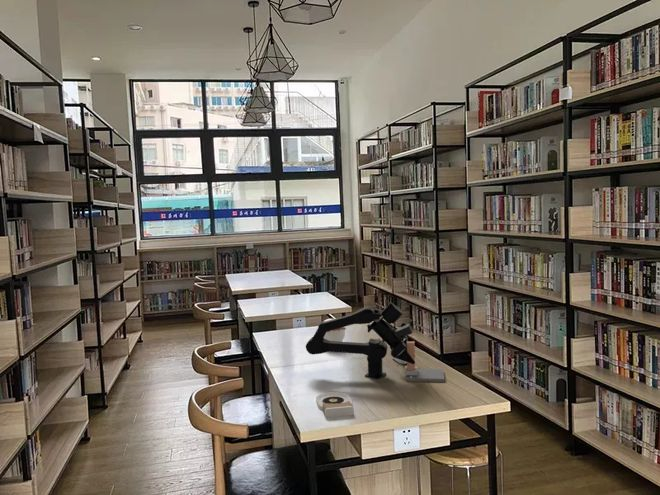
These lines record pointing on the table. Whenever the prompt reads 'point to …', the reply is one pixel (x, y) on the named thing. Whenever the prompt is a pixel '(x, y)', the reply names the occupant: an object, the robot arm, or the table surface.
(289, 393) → the table surface
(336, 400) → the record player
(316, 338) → the robot arm
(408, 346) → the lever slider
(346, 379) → the table surface
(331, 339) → the white piece
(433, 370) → the track board
